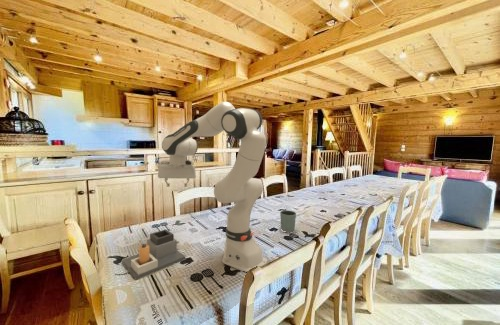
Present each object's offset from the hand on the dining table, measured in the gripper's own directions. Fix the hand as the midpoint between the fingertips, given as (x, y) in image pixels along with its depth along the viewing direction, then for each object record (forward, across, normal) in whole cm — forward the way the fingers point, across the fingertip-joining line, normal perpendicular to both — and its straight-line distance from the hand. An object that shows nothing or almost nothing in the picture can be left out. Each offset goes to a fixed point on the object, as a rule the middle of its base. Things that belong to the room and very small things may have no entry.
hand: (177, 186), depth 120 cm
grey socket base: (+33, -8, -18) cm, 38 cm away
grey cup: (+29, +69, +4) cm, 75 cm away
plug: (+33, -10, -24) cm, 42 cm away
